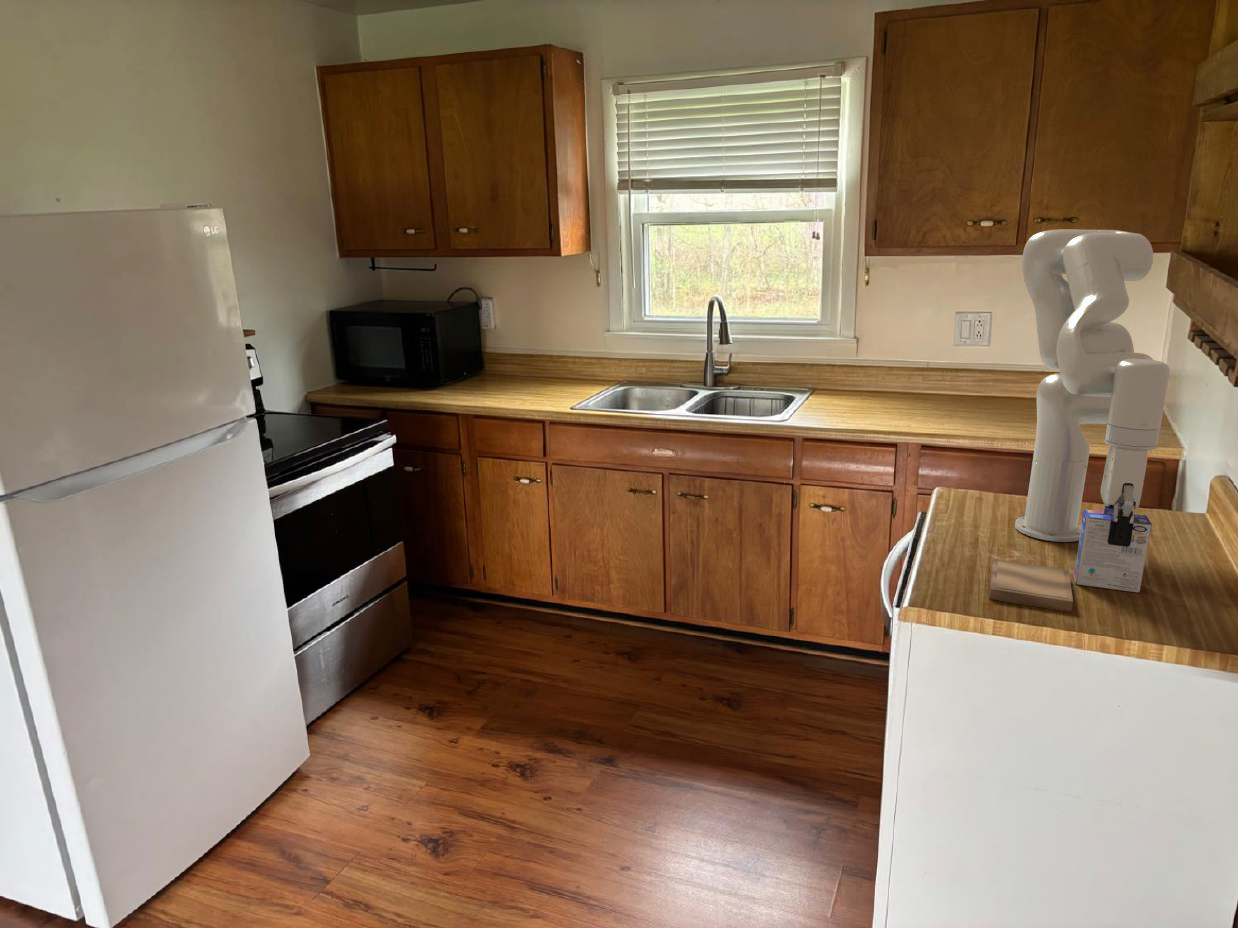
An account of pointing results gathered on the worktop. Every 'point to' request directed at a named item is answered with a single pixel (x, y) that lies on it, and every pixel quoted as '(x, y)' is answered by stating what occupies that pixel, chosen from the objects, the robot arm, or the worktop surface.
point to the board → (1031, 585)
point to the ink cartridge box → (1110, 553)
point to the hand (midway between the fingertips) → (1115, 535)
